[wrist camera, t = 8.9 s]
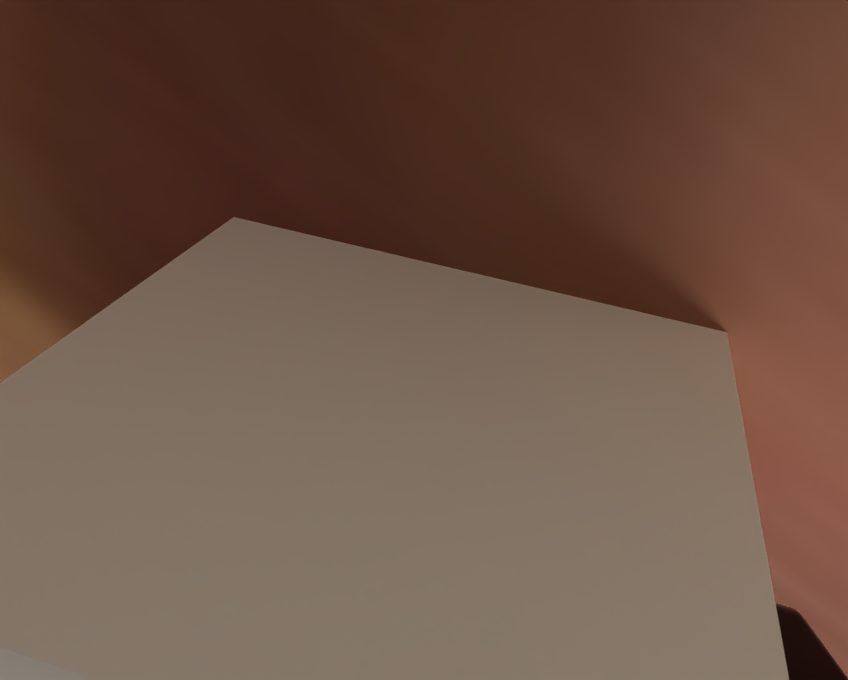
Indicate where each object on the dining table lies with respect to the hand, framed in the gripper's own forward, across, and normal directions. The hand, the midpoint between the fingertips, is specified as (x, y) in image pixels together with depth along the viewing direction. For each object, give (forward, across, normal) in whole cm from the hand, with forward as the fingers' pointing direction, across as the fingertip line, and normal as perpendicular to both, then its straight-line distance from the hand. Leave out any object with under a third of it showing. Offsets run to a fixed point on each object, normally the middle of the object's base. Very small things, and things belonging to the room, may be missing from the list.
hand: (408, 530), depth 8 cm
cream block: (+1, 0, 0) cm, 1 cm away
